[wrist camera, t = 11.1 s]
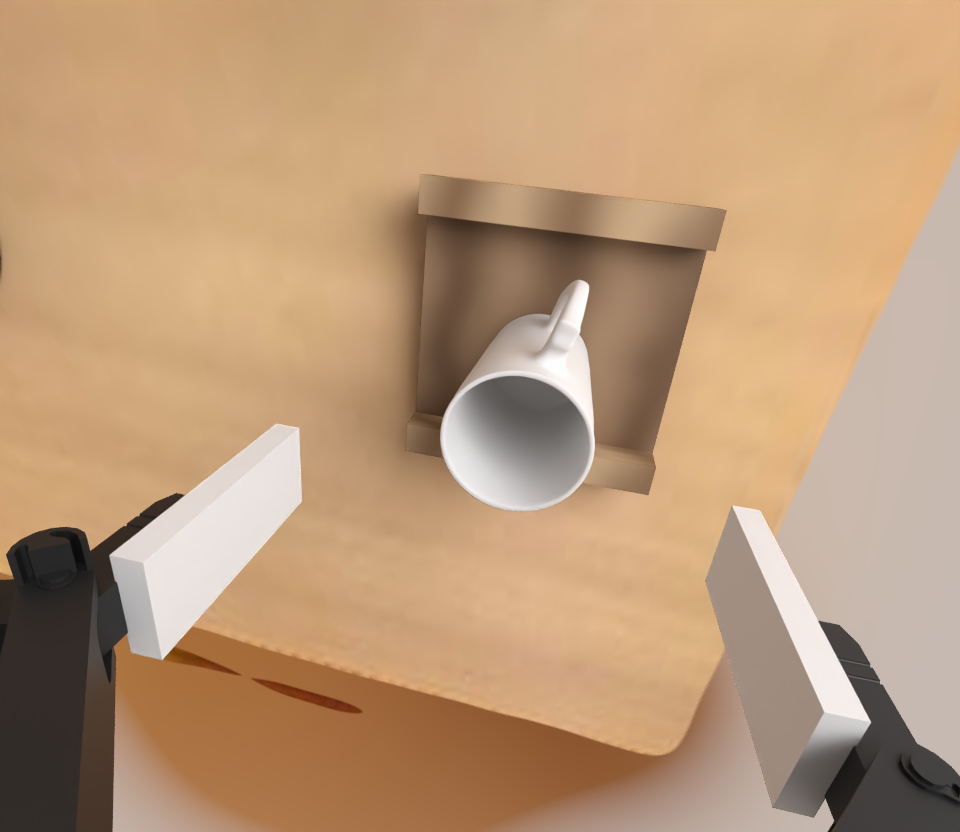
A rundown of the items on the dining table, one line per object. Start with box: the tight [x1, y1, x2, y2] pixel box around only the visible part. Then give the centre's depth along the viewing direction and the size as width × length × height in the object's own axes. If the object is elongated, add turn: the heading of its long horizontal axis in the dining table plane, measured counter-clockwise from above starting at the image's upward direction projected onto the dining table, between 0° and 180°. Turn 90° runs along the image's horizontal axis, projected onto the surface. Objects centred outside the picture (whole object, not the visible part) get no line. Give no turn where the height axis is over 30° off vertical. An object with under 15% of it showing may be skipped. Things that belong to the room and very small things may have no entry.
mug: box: [440, 280, 595, 512], centre depth 28 cm, size 10×7×12 cm, turn 158°
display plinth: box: [406, 174, 727, 495], centre depth 34 cm, size 16×17×4 cm
